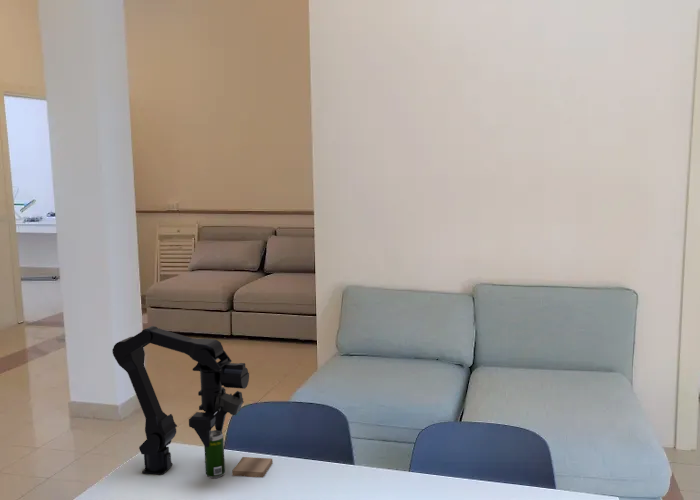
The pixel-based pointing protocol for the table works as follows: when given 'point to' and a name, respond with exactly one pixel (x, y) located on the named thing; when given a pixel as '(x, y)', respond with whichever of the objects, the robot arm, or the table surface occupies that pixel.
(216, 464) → the beer can
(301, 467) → the table surface
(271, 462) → the brown square coaster
